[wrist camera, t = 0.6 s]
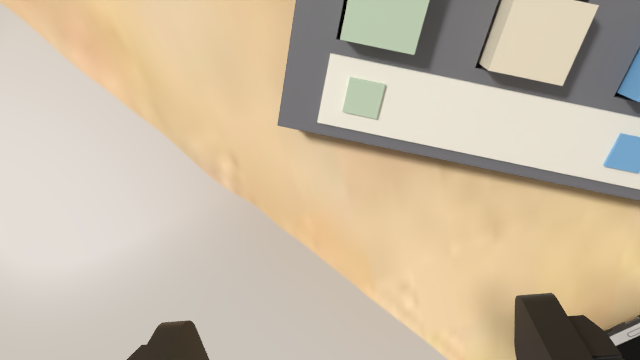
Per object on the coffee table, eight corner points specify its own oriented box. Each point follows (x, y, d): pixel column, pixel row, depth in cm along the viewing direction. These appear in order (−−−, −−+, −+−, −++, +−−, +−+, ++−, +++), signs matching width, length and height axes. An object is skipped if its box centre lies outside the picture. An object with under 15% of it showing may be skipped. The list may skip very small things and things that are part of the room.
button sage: (357, -43, 28) (356, -46, 25) (429, -28, 28) (437, -29, 25) (342, 33, 31) (339, 39, 27) (408, 47, 31) (414, 55, 27)
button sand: (501, -13, 28) (518, -12, 25) (572, 2, 28) (599, 5, 25) (475, 60, 31) (488, 70, 27) (541, 74, 31) (562, 86, 28)
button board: (318, -111, 28) (312, -122, 25) (781, -14, 28) (834, -13, 25) (283, 114, 35) (276, 127, 32) (653, 191, 35) (682, 212, 32)
